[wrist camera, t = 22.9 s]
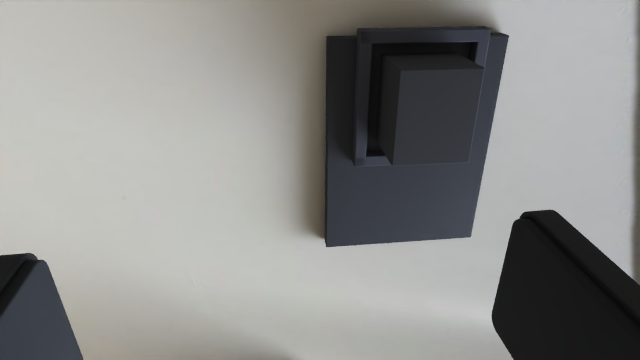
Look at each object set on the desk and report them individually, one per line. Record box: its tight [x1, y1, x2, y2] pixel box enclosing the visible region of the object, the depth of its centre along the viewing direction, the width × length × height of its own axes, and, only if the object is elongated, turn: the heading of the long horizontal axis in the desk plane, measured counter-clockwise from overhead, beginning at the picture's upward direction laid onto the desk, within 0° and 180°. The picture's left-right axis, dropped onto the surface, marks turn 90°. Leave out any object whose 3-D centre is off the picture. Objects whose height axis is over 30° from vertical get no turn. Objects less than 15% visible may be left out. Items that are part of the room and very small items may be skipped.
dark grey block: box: [376, 52, 485, 166], centre depth 28 cm, size 6×5×4 cm
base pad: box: [325, 26, 509, 247], centre depth 32 cm, size 17×12×2 cm
